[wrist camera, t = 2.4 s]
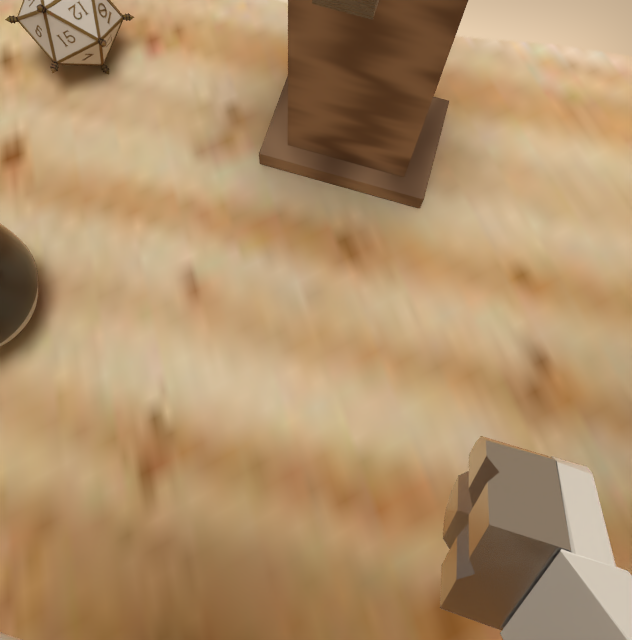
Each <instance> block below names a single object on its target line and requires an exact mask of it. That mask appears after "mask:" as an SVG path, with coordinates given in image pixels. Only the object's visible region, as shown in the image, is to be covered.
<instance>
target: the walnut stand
mask: <svg viewBox="0 0 632 640" xmlns="http://www.w3.org/2000/svg"><path fill="white" fill-rule="evenodd" d="M467 2H468V0H379V2H378V5H377V8H376V11H375V14H374V18H373V20H371V19H367V18H363V17H360V16H356V15H352V14H348V13H345V12H341V11H337V10H334V9H330V8H326V7H322V6H319V5H315V4H312V0H288V77H287V79H286V82H285V85H284V87H283V90H282V93H281V96H280V98H279V101H278V104H277V106H276V109H275V112H274V115H273V117H272V120H271V123H270V125H269V128H268V131H267V134H266V136H265V139H264V142H263V144H262V147H261V150H260V153H259V158H260V164H263V165H267V166H270V167H274V168H277V169H281V170H284V171H288V172H292V173H295V174H299V175H302V176H306V177H309V178H313V179H317V180H320V181H324V182H327V183H331V184H334V185H338V186H342V187H345V188H349V189H352V190H356V191H359V192H363V193H367V194H370V195H374V196H377V197H381V198H384V199H388V200H392V201H395V202H399V203H402V204H406V205H409V206H413V207H417V208H420V206H421V204H422V202H423V200H424V196H425V192H426V188H427V184H428V180H429V177H430V173H431V169H432V165H433V161H434V157H435V154H436V150H437V146H438V142H439V138H440V134H441V131H442V127H443V123H444V119H445V115H446V111H447V108H448V104H449V101H447V100H444V99H440V98H436V97H433V96H434V93H435V91H436V88H437V85H438V82H439V80H440V77H441V74H442V71H443V69H444V66H445V63H446V60H447V57H448V55H449V52H450V49H451V46H452V44H453V41H454V38H455V35H456V33H457V30H458V27H459V24H460V21H461V19H462V16H463V13H464V10H465V8H466V5H467Z"/></svg>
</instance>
